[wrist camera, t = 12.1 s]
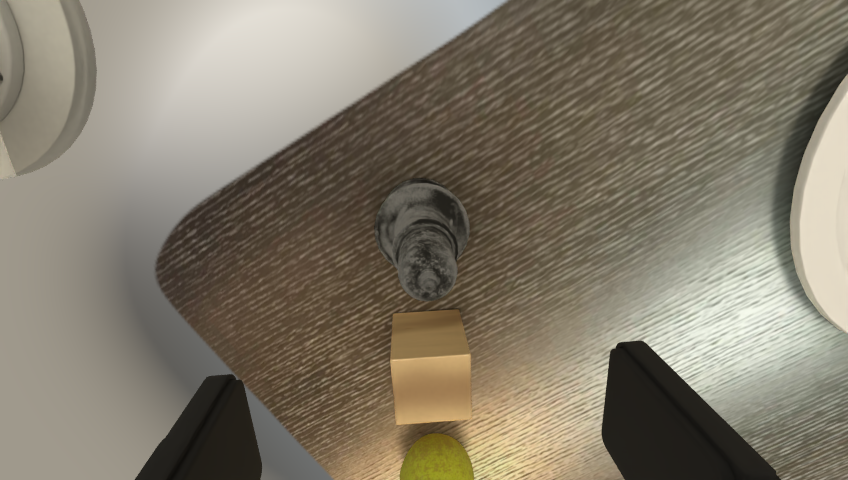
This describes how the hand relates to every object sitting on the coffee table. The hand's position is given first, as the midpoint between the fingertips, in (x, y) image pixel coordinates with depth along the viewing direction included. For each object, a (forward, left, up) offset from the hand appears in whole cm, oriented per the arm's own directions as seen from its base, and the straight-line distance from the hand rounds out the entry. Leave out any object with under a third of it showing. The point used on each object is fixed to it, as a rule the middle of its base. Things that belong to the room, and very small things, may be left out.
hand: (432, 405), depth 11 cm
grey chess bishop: (0, 0, -20) cm, 20 cm away
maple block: (+10, 0, -19) cm, 22 cm away
